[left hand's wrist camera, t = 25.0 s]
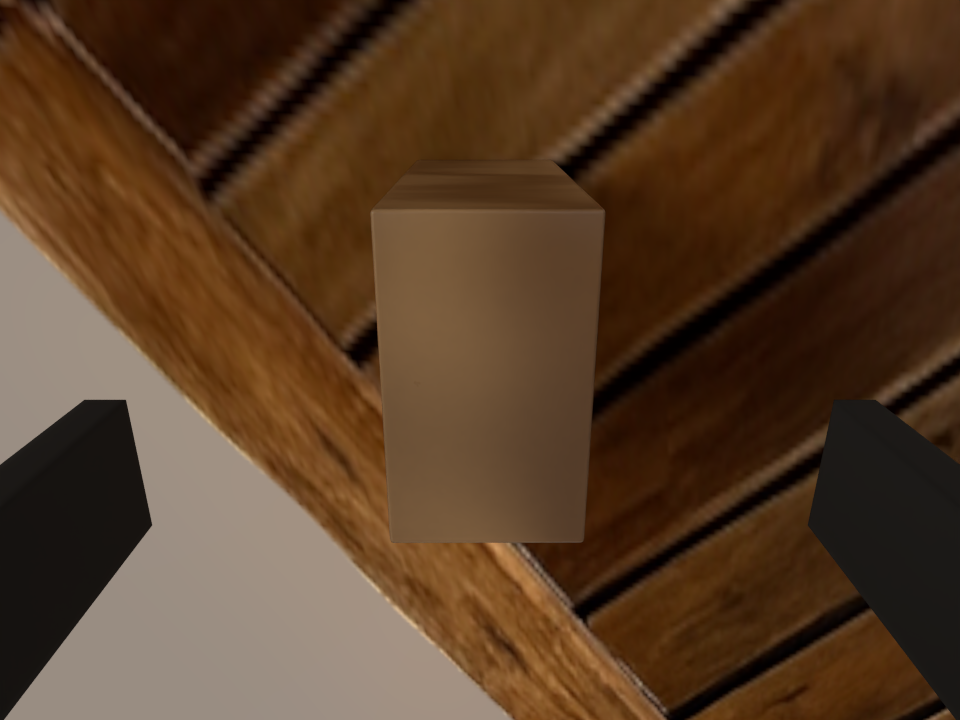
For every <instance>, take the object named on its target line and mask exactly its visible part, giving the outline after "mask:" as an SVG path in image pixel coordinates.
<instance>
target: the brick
mask: <svg viewBox="0 0 960 720" xmlns="http://www.w3.org/2000/svg"><path fill="white" fill-rule="evenodd" d="M370 214H371V231H372V248H373V264H374V281H375V297H376V314H377V330H378V347H379V364H380V380H381V397H382V413H383V430H384V446H385V463H386V480H387V496H388V513H389V529H390V540H391V542H393V543H544V542H583V540H584V531H585V516H586V500H587V485H588V470H589V455H590V440H591V425H592V410H593V394H594V379H595V364H596V349H597V334H598V319H599V304H600V288H601V273H602V258H603V243H604V228H605V210H604V209H603V208H602V207H601V206H600V205H599V204H598V203H597V202H596V201H595V200H594V199H593V198H592V197H590V196H589V195H588V194H587V193H586V192H585V191H584V190H583V189H582V188H581V187H580V186H579V185H578V184H577V183H576V182H574V181H573V180H572V179H571V178H570V177H569V176H568V175H567V174H566V173H565V172H564V171H563V170H562V169H561V168H560V167H558V166H557V165H556V164H555V163H554V162H553V161H552V160H418V161H416V162H415V164H414V165H413V166H412V167H411V168H410V169H409V170H408V171H407V172H406V173H405V174H404V175H403V176H402V178H401V179H400V180H399V181H398V182H397V183H396V184H395V185H394V186H393V187H392V188H391V189H390V191H389V192H388V193H387V194H386V195H385V196H384V197H383V198H382V199H381V200H380V201H379V202H378V203H377V205H376V206H375V207H374V208H373V209H372V210H371V213H370Z"/></svg>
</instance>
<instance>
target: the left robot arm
mask: <svg viewBox="0 0 960 720" xmlns="http://www.w3.org/2000/svg"><path fill="white" fill-rule="evenodd" d="M151 526H152V522H151V517H150V513H149V508H148V503H147V498H146V494H145V489H144V484H143V479H142V474H141V470H140V465H139V460H138V455H137V451H136V446H135V441H134V436H133V432H132V427H131V422H130V417H129V413H128V408H127V403H126V400H84V401H82V402H81V403H80V404H79V405H77V406H76V407H75V408H73V409H72V410H71V411H70V412H68V413H67V414H66V415H64V416H63V417H62V418H60V419H59V420H58V421H57V422H55V423H54V424H53V425H51V426H50V427H49V428H47V429H46V430H45V431H44V432H42V433H41V434H40V435H38V436H37V437H36V438H34V439H33V440H32V441H31V442H29V443H28V444H27V445H25V446H24V447H23V448H21V449H20V450H19V451H18V452H16V453H15V454H14V455H12V456H11V457H10V458H8V459H7V460H6V461H5V462H3V463H2V464H1V465H0V720H4V719H5V718H6V716H7V715H8V714H9V712H10V711H11V710H12V708H13V707H14V706H15V704H16V703H17V702H18V701H19V699H20V698H21V696H22V695H23V694H24V693H25V691H26V690H27V689H28V687H29V686H30V685H31V683H32V682H33V681H34V679H35V678H36V677H37V676H38V674H39V673H40V672H41V670H42V669H43V668H44V666H45V665H46V664H47V662H48V661H49V660H50V659H51V657H52V656H53V655H54V653H55V652H56V651H57V649H58V648H59V647H60V645H61V644H62V643H63V641H64V640H65V639H66V638H67V636H68V635H69V634H70V632H71V631H72V630H73V628H74V627H75V626H76V624H77V623H78V622H79V620H80V619H81V618H82V617H83V615H84V614H85V612H86V611H87V610H88V609H89V607H90V606H91V605H92V603H93V602H94V601H95V599H96V598H97V597H98V596H99V594H100V593H101V592H102V590H103V589H104V588H105V586H106V585H107V584H108V582H109V581H110V580H111V579H112V577H113V576H114V575H115V573H116V572H117V571H118V569H119V568H120V567H121V565H122V564H123V563H124V561H125V560H126V559H127V558H128V556H129V555H130V554H131V552H132V551H133V550H134V548H135V547H136V546H137V544H138V543H139V542H140V540H141V539H142V538H143V537H144V535H145V534H146V533H147V531H148V530H149V529H150V527H151ZM808 526H809V527H810V529H811V530H812V531H813V533H814V534H815V535H816V537H817V538H818V539H819V540H820V542H821V543H822V544H823V546H824V547H825V548H826V550H827V551H828V552H829V554H830V555H831V556H832V558H833V559H834V560H835V561H836V563H837V564H838V565H839V567H840V568H841V569H842V571H843V572H844V573H845V575H846V576H847V577H848V579H849V580H850V581H851V582H852V584H853V585H854V586H855V588H856V589H857V590H858V592H859V593H860V594H861V596H862V597H863V598H864V600H865V601H866V602H867V603H868V605H869V606H870V607H871V609H872V610H873V611H874V613H875V614H876V615H877V617H878V618H879V619H880V620H881V622H882V623H883V624H884V626H885V627H886V628H887V630H888V631H889V632H890V634H891V635H892V636H893V638H894V639H895V640H896V641H897V643H898V644H899V645H900V647H901V648H902V649H903V651H904V652H905V653H906V655H907V656H908V657H909V659H910V660H911V661H912V662H913V664H914V665H915V666H916V668H917V669H918V670H919V672H920V673H921V674H922V676H923V677H924V678H925V680H926V681H927V682H928V683H929V685H930V686H931V687H932V689H933V690H934V691H935V693H936V694H937V695H938V697H939V698H940V699H941V701H942V702H943V703H944V704H945V706H946V707H947V708H948V710H949V711H950V712H951V714H952V715H953V716H954V718H955V719H956V720H960V465H959V464H958V463H957V462H955V461H954V460H953V459H952V458H950V457H949V456H948V455H946V454H945V453H944V452H942V451H941V450H940V449H939V448H937V447H936V446H935V445H933V444H932V443H931V442H929V441H928V440H927V439H926V438H924V437H923V436H922V435H920V434H919V433H918V432H916V431H915V430H914V429H913V428H911V427H910V426H909V425H907V424H906V423H905V422H903V421H902V420H901V419H900V418H898V417H897V416H896V415H894V414H893V413H892V412H891V411H889V410H888V409H887V408H885V407H884V406H883V405H881V404H880V403H879V402H878V401H876V400H834V403H833V408H832V412H831V417H830V422H829V427H828V432H827V436H826V441H825V446H824V451H823V455H822V460H821V465H820V470H819V474H818V479H817V484H816V489H815V494H814V498H813V503H812V508H811V513H810V517H809V522H808Z"/></svg>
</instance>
